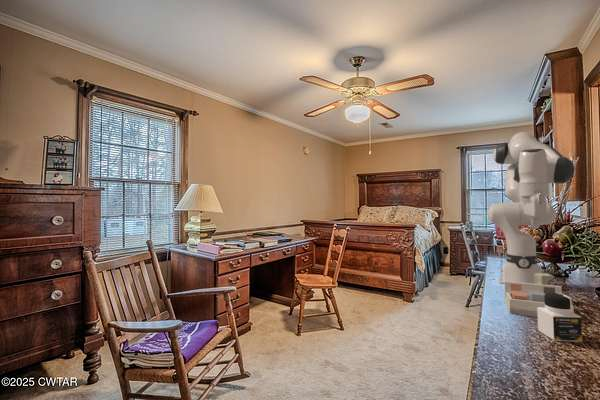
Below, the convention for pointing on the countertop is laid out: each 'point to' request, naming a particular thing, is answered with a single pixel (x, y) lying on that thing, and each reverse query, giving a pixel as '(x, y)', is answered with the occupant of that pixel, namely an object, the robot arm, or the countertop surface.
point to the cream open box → (523, 305)
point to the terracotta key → (519, 296)
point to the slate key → (536, 296)
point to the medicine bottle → (559, 319)
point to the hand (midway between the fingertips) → (535, 228)
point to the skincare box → (544, 279)
